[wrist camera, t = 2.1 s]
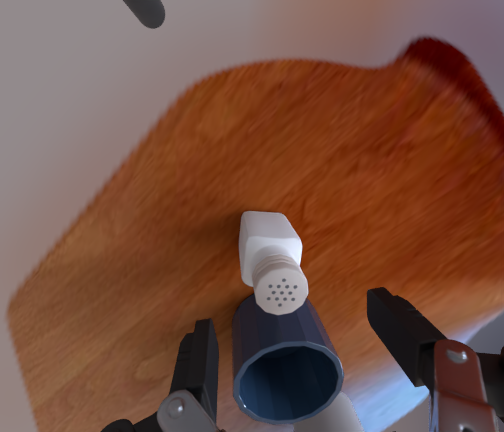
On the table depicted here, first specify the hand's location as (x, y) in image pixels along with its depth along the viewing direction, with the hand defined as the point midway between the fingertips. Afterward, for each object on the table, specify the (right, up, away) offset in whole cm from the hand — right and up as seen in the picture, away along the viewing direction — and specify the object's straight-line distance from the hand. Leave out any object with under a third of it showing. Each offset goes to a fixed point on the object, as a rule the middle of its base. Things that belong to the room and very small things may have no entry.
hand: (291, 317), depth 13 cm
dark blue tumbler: (0, -6, +14) cm, 16 cm away
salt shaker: (-1, +4, +11) cm, 12 cm away
